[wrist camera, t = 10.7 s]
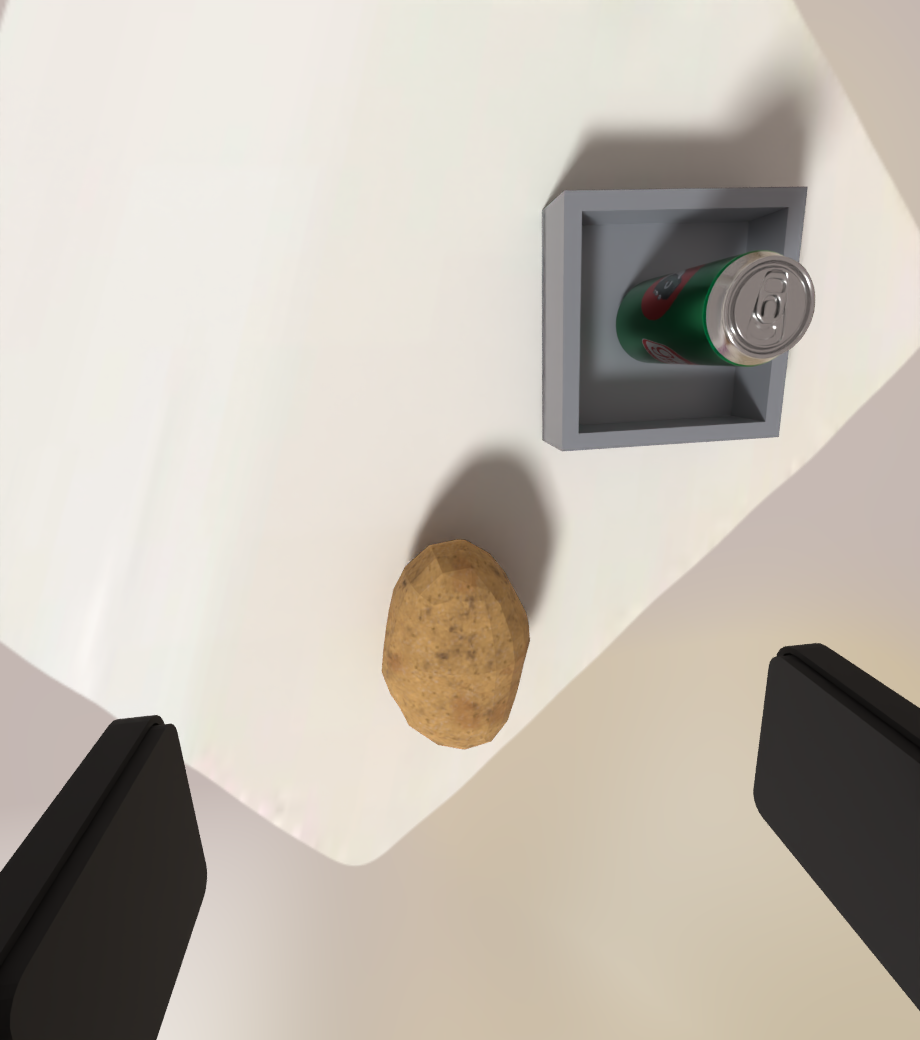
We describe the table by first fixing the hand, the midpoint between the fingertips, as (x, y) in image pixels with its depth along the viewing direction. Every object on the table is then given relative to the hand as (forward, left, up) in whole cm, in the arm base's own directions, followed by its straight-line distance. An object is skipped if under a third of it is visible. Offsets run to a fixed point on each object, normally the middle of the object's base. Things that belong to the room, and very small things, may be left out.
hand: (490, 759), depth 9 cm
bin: (-7, +16, -30) cm, 35 cm away
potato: (+12, +2, -31) cm, 33 cm away
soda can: (-7, +16, -30) cm, 34 cm away
